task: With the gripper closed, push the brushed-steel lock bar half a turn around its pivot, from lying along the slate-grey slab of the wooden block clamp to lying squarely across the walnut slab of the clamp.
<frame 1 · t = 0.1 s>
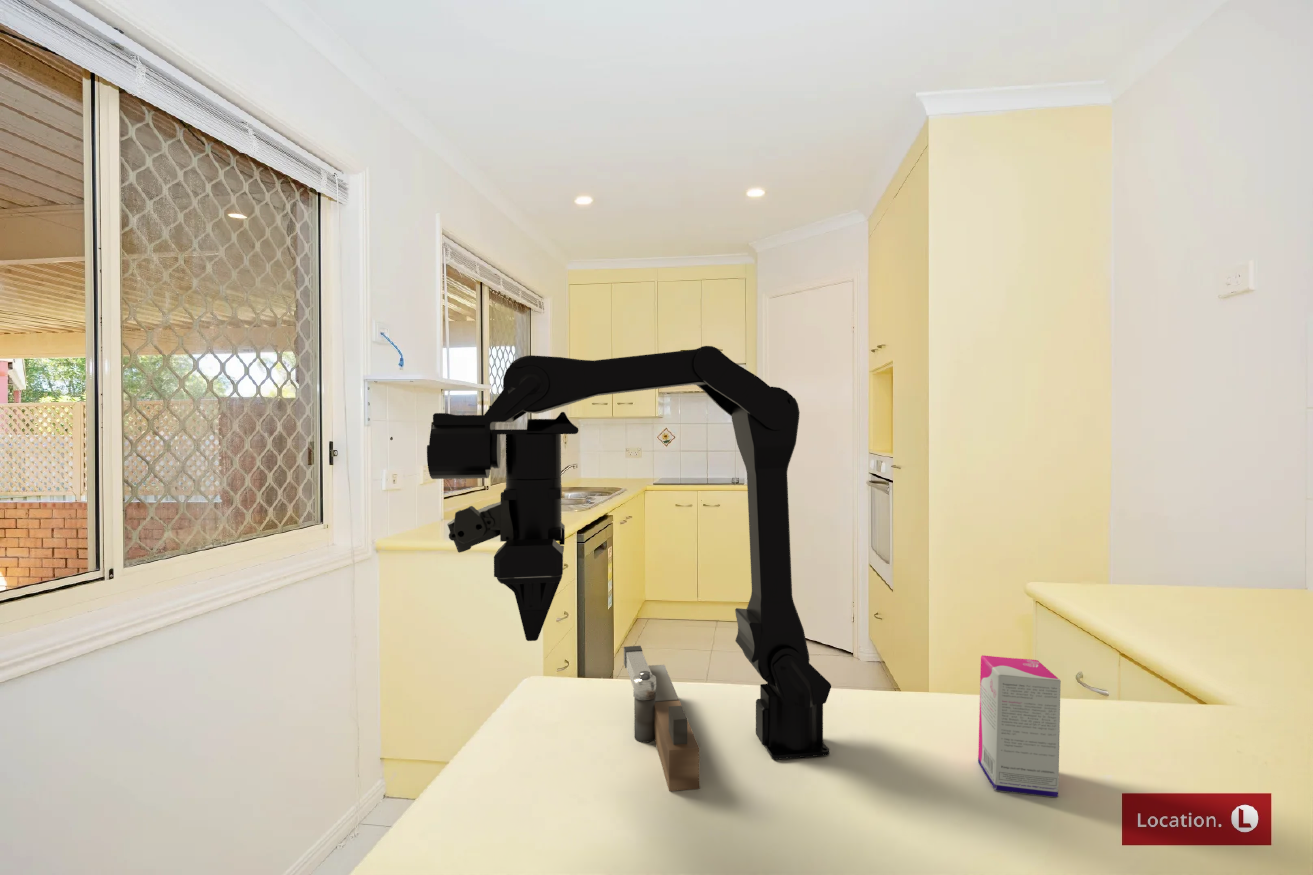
hand: (534, 625, 66), 15 cm above the countertop, fingers open, 9 cm apart
wooden block clamp: (666, 735, 72), on the countertop
supplement box: (1016, 780, 63), on the countertop
lock bar: (638, 669, 76), point 6 cm above the countertop, hinge at -178.0°
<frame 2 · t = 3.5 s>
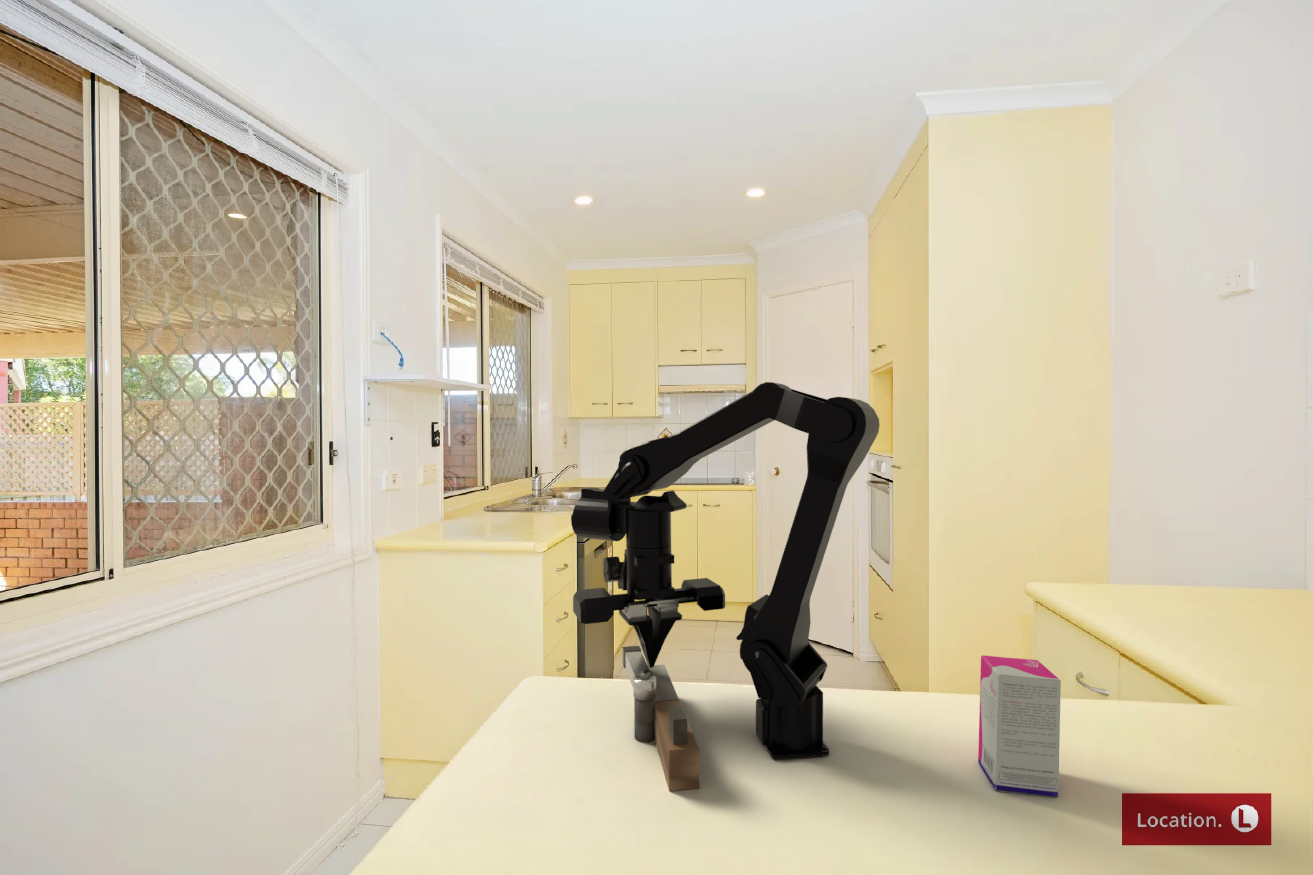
hand: (650, 666, 80), 5 cm above the countertop, fingers closed
lock bar: (638, 669, 76), point 6 cm above the countertop, hinge at -177.1°, touching gripper
everything else where it was.
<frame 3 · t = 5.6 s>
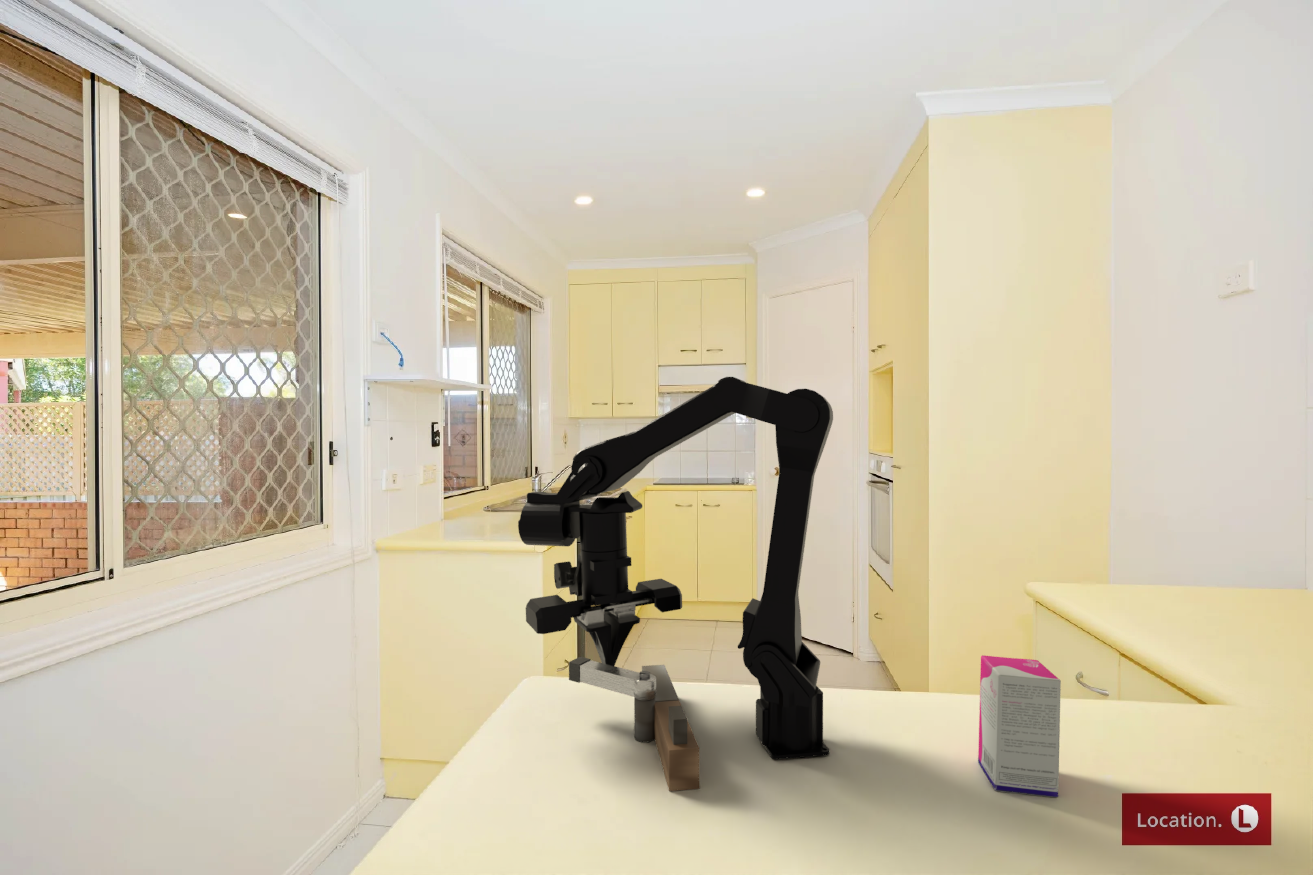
hand: (608, 672, 78), 5 cm above the countertop, fingers closed
lock bar: (612, 676, 74), point 6 cm above the countertop, hinge at -130.9°, touching gripper
everything else where it was.
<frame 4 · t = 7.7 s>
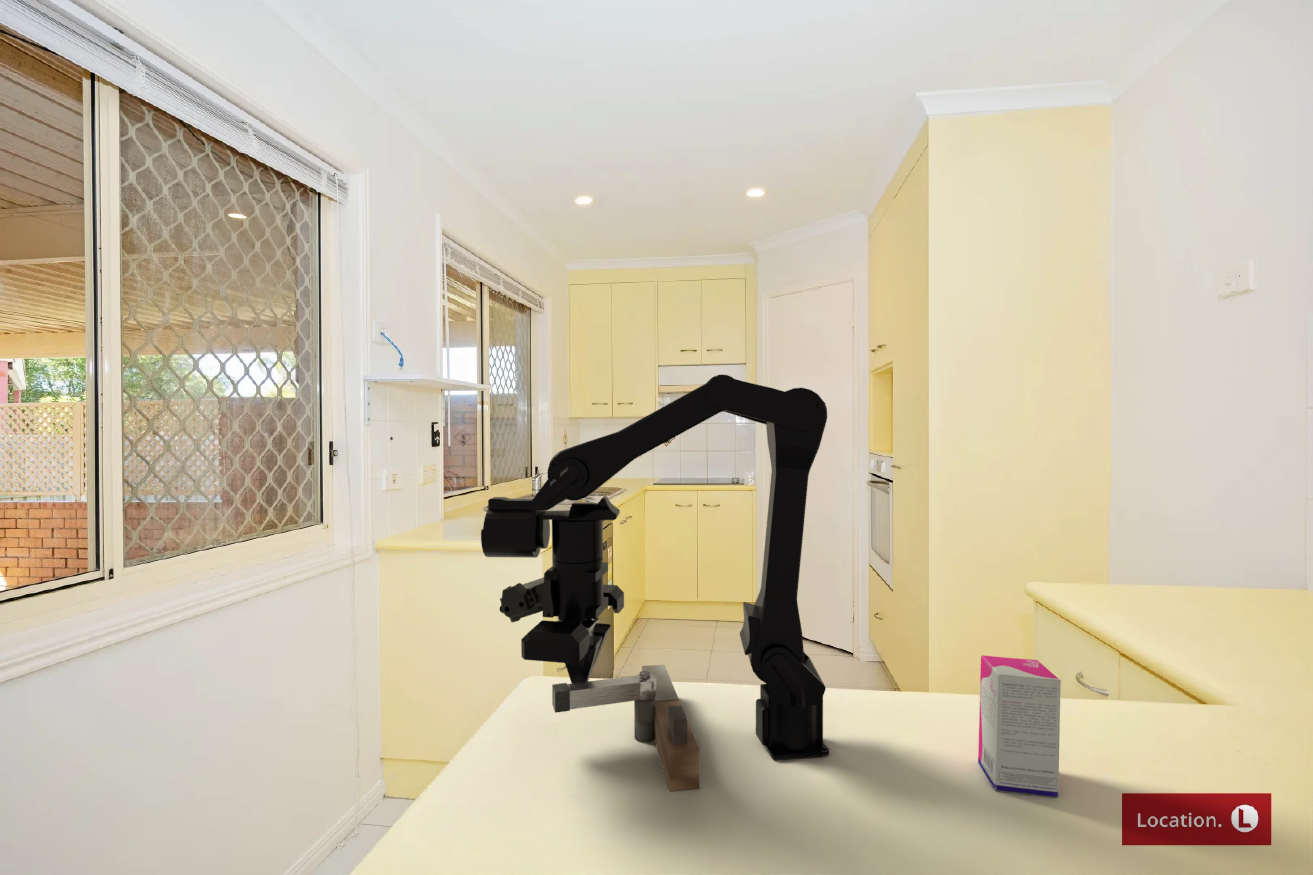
hand: (579, 692, 72), 5 cm above the countertop, fingers closed
lock bar: (605, 689, 71), point 6 cm above the countertop, hinge at -81.0°, touching gripper
everything else where it was.
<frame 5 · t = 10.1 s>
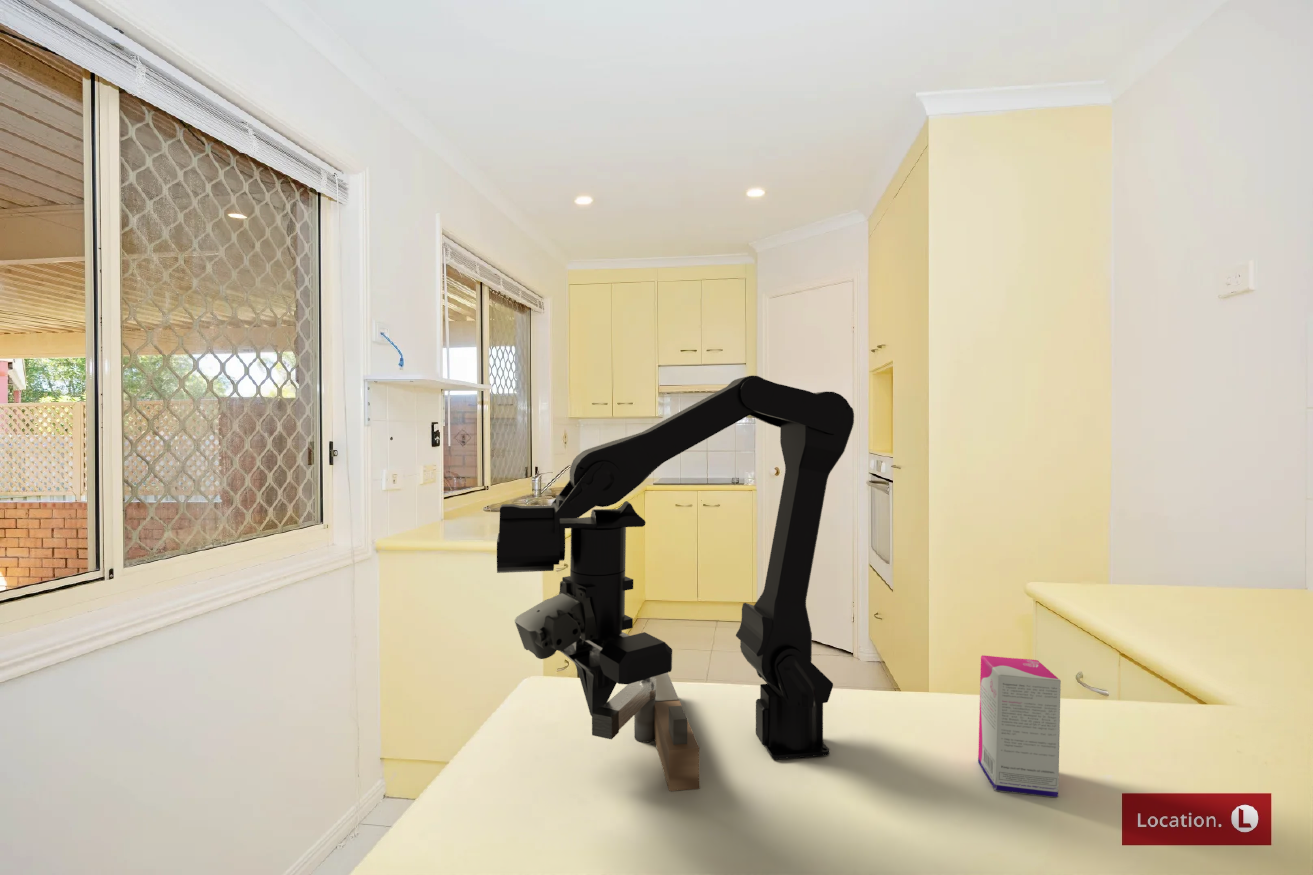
hand: (595, 715, 66), 5 cm above the countertop, fingers closed
lock bar: (627, 700, 68), point 6 cm above the countertop, hinge at -31.5°, touching gripper
everything else where it was.
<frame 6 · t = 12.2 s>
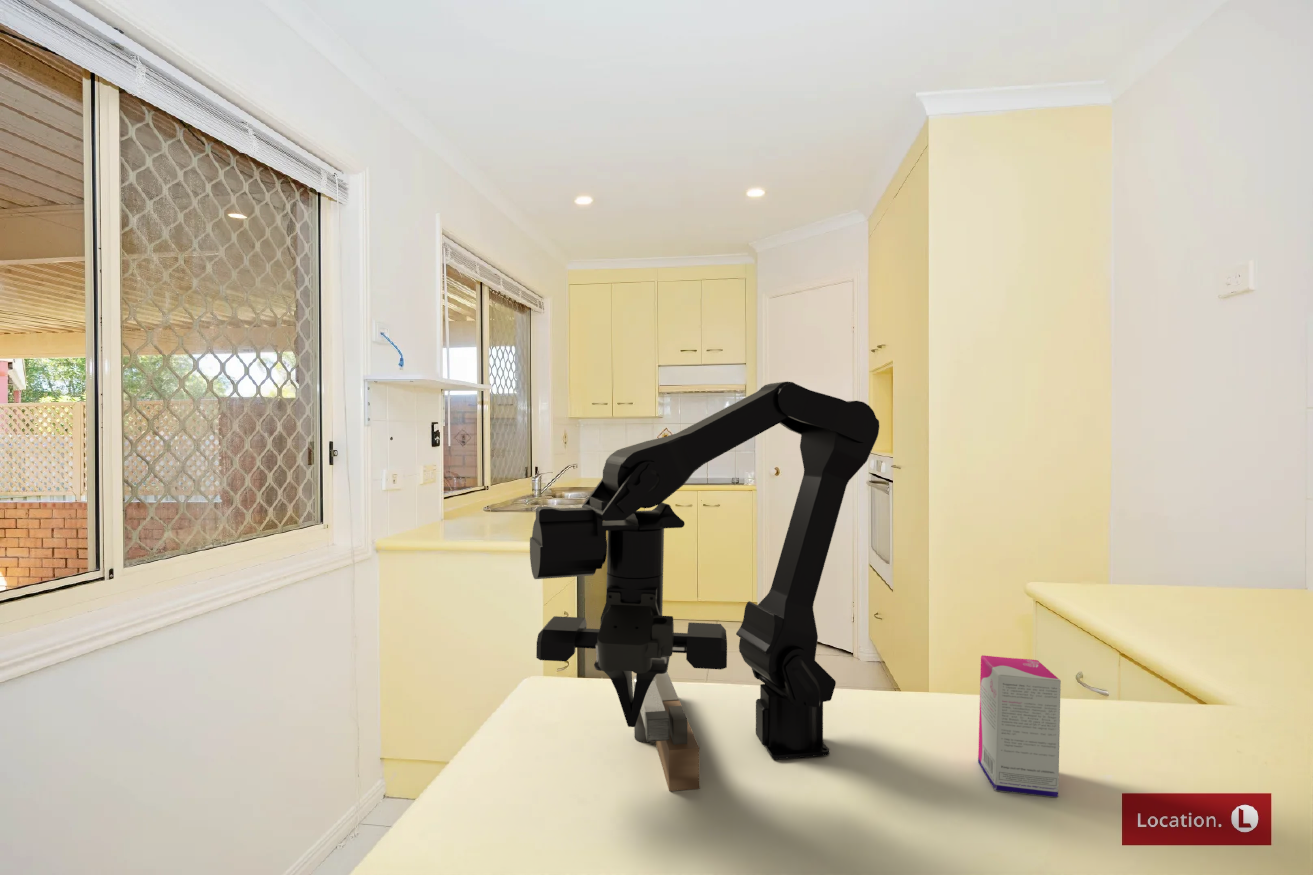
hand: (632, 725, 64), 5 cm above the countertop, fingers closed
lock bar: (650, 701, 67), point 6 cm above the countertop, hinge at 0.2°, touching gripper
everything else where it was.
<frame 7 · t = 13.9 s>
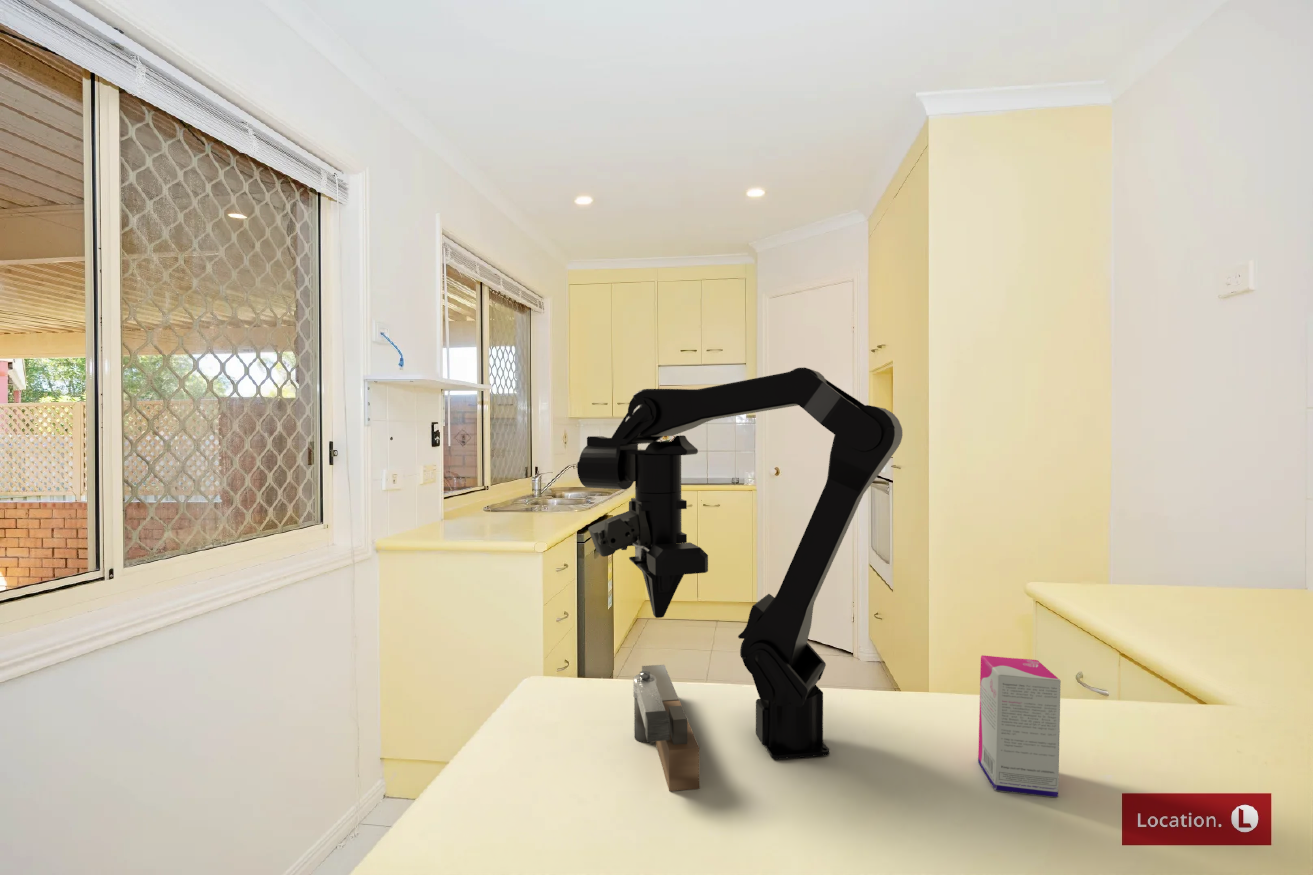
hand: (658, 616, 78), 12 cm above the countertop, fingers closed
lock bar: (650, 701, 67), point 6 cm above the countertop, hinge at 0.2°
everything else where it was.
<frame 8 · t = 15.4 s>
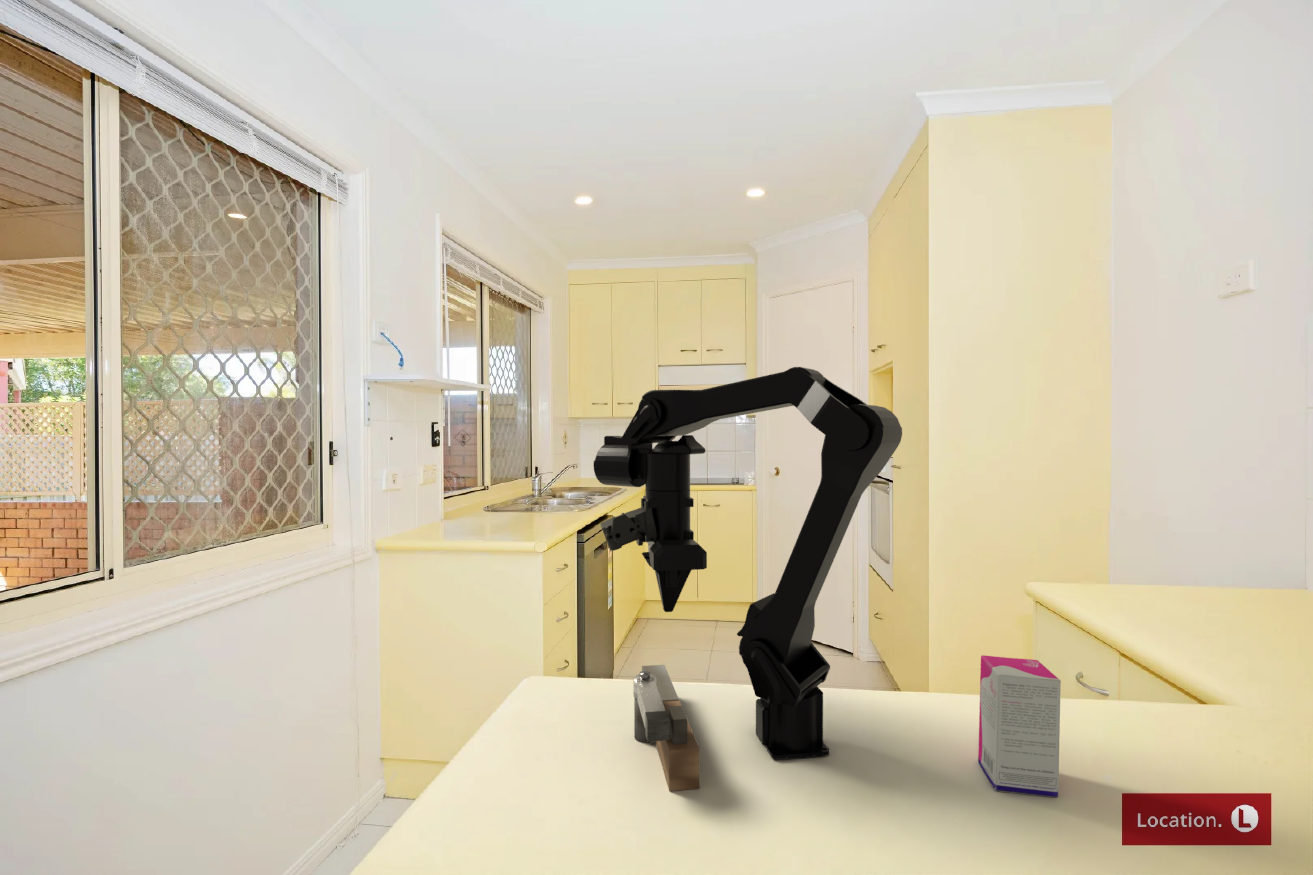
hand: (668, 611, 80), 12 cm above the countertop, fingers closed
nothing on the countertop moved.
at the end: lock bar at +0° (first picture: -178°); supplement box moved 0.2 cm from its start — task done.
